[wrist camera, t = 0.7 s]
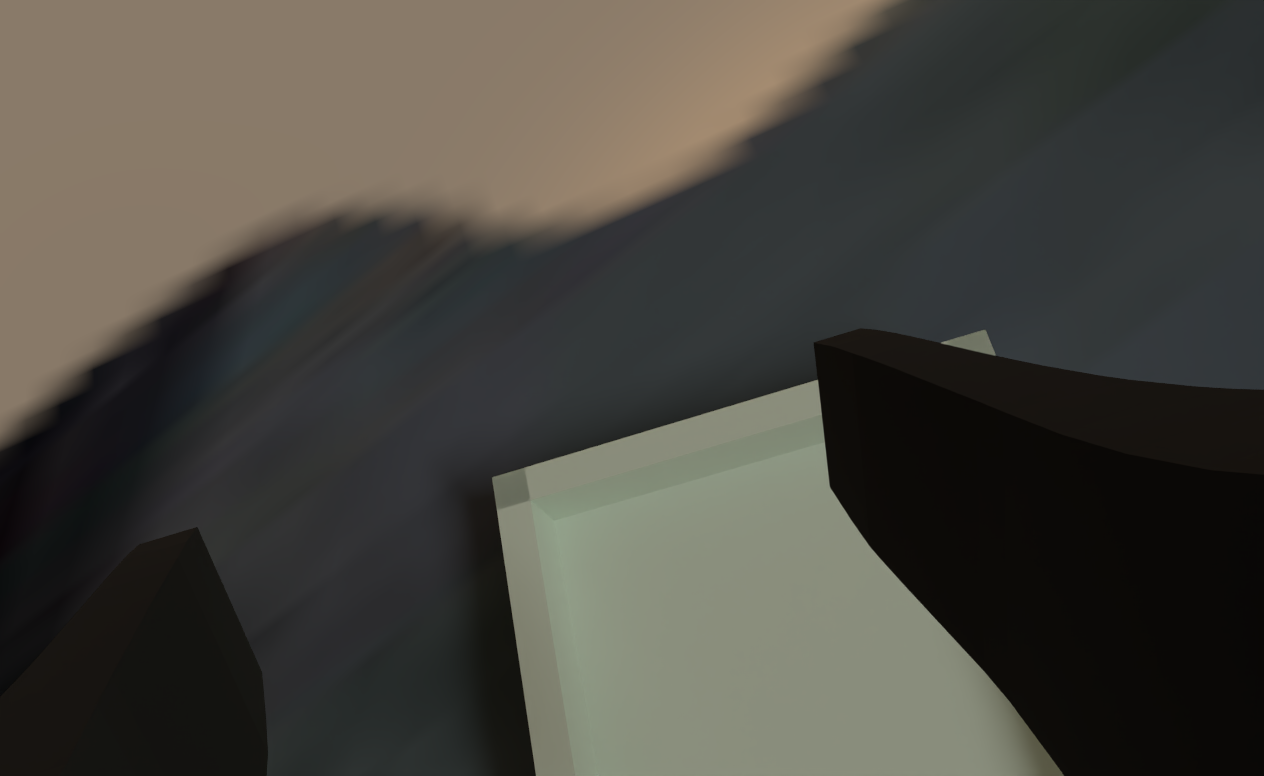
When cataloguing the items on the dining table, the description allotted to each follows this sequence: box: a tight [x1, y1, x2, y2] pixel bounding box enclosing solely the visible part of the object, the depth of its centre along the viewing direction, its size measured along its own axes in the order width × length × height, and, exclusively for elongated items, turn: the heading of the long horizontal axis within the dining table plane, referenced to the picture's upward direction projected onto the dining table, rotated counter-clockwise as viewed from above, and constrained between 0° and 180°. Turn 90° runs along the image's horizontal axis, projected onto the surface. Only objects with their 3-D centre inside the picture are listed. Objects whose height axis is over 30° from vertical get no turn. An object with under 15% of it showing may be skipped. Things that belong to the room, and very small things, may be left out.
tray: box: [492, 330, 1064, 776], centre depth 25 cm, size 19×14×2 cm
